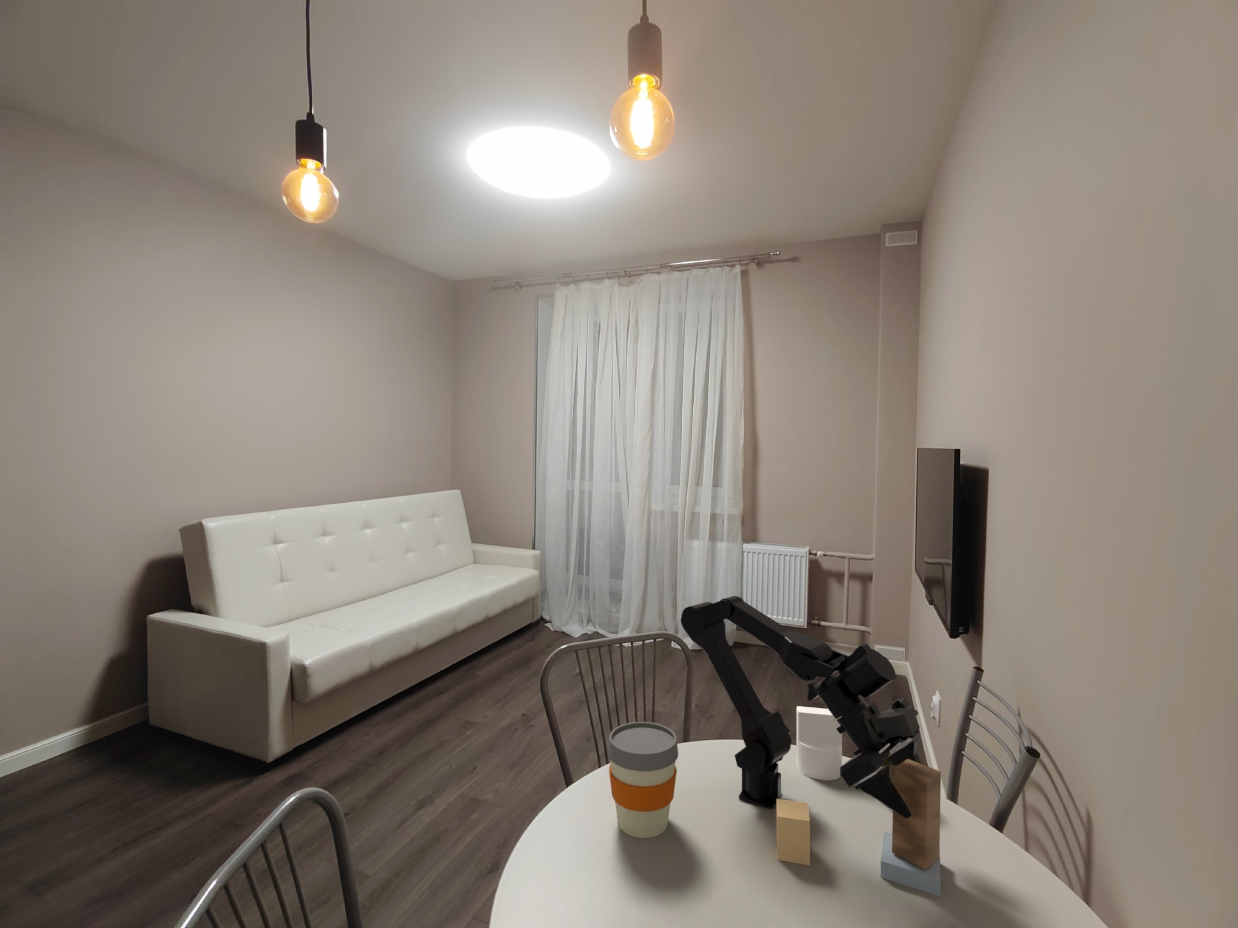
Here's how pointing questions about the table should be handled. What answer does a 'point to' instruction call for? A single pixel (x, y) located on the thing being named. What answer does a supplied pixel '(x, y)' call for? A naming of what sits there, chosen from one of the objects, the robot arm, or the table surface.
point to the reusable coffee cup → (642, 776)
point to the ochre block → (793, 832)
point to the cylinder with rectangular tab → (818, 743)
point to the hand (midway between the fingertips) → (920, 804)
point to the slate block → (909, 870)
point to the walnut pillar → (917, 813)
